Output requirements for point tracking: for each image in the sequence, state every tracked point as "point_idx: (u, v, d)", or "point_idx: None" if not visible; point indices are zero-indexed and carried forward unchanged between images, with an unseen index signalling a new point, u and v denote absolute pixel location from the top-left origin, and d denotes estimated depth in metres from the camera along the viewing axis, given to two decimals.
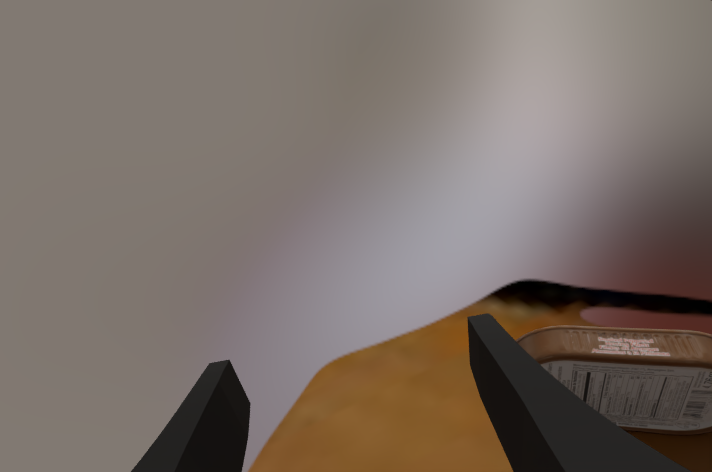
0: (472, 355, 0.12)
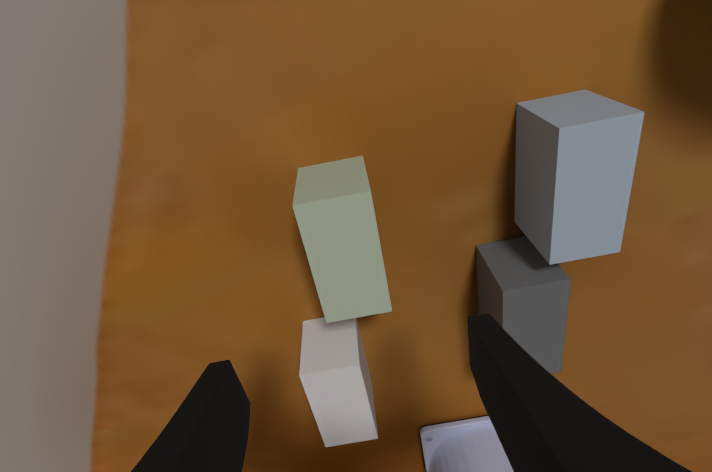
0: (472, 355, 0.12)
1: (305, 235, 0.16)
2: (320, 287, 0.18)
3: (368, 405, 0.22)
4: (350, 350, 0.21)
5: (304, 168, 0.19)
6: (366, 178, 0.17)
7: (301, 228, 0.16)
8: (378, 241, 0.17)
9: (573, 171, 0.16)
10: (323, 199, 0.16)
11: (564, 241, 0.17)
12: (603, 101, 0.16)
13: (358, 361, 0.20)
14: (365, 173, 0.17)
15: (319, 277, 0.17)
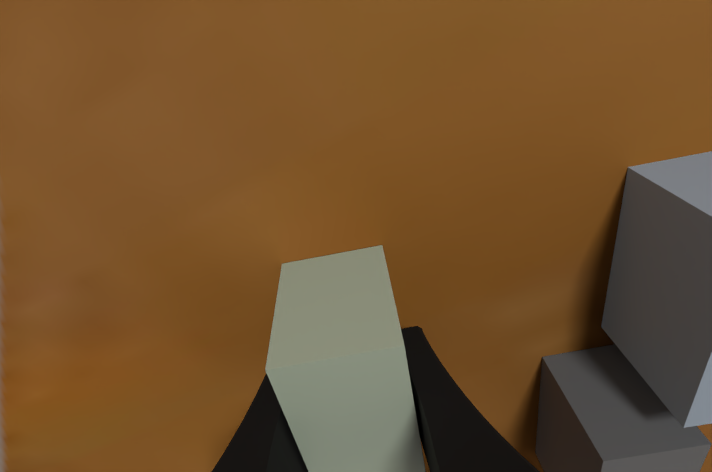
0: None
1: (289, 408, 0.10)
2: None
3: None
4: None
5: (291, 267, 0.12)
6: (393, 307, 0.10)
7: (282, 400, 0.09)
8: (413, 412, 0.10)
9: None
10: (320, 358, 0.09)
11: None
12: None
13: None
14: (390, 293, 0.10)
15: (313, 460, 0.11)
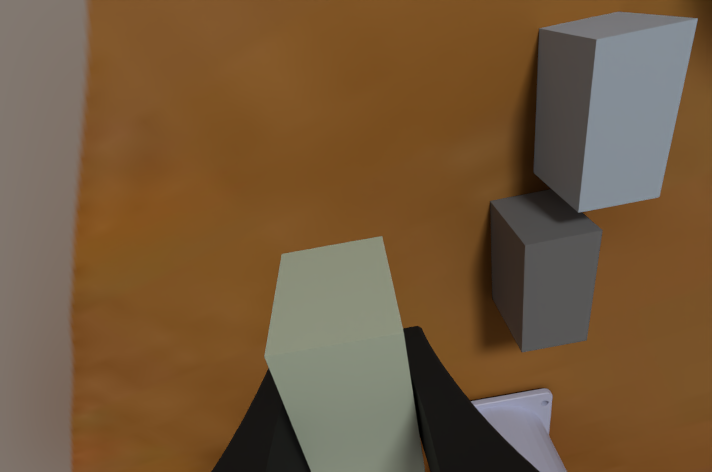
0: None
1: (288, 396, 0.10)
2: (314, 461, 0.11)
3: None
4: None
5: (291, 257, 0.12)
6: (393, 296, 0.10)
7: (281, 387, 0.09)
8: (412, 401, 0.10)
9: (611, 95, 0.13)
10: (320, 345, 0.09)
11: (596, 183, 0.15)
12: (644, 16, 0.14)
13: None
14: (390, 282, 0.10)
15: (311, 450, 0.11)
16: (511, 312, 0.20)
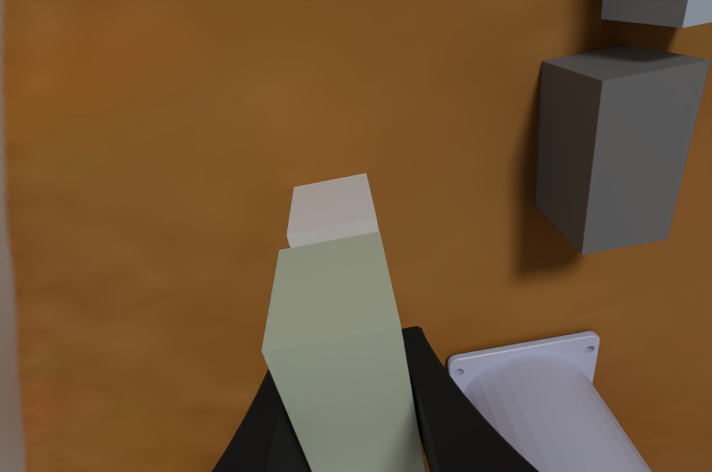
0: None
1: (286, 390, 0.10)
2: (312, 456, 0.11)
3: None
4: (361, 206, 0.14)
5: (288, 253, 0.12)
6: (390, 290, 0.10)
7: (278, 382, 0.09)
8: (410, 395, 0.10)
9: None
10: (317, 339, 0.09)
11: None
12: None
13: (374, 215, 0.14)
14: (387, 276, 0.10)
15: (310, 445, 0.11)
16: (567, 205, 0.15)
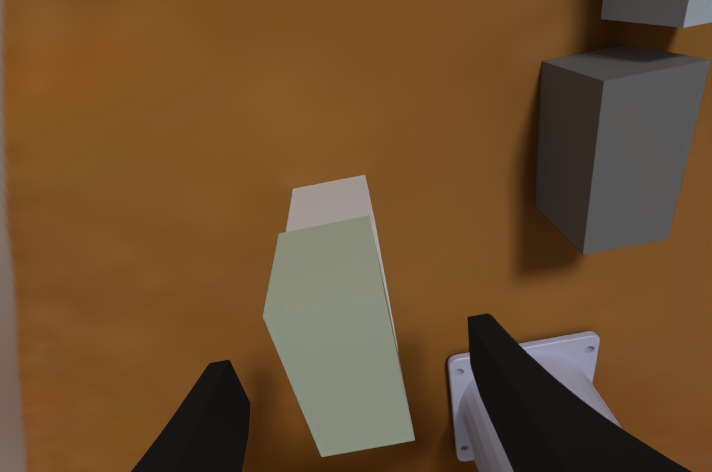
0: (472, 355, 0.12)
1: (285, 353, 0.11)
2: (311, 416, 0.12)
3: (386, 294, 0.15)
4: (360, 209, 0.14)
5: (287, 236, 0.13)
6: (376, 263, 0.11)
7: (278, 345, 0.11)
8: (396, 358, 0.11)
9: None
10: (311, 304, 0.10)
11: None
12: None
13: (372, 218, 0.14)
14: (374, 253, 0.11)
15: (308, 405, 0.12)
16: (568, 205, 0.15)
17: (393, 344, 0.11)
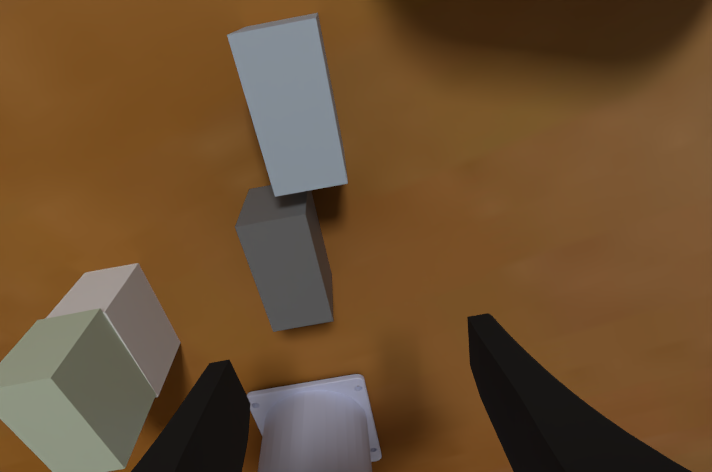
0: (472, 355, 0.12)
1: (1, 413, 0.16)
2: (38, 453, 0.18)
3: None
4: (106, 299, 0.20)
5: (40, 323, 0.19)
6: (66, 353, 0.17)
7: None
8: (80, 416, 0.17)
9: (261, 86, 0.15)
10: (5, 385, 0.16)
11: (281, 169, 0.16)
12: (308, 16, 0.15)
13: (107, 308, 0.19)
14: (73, 343, 0.17)
15: (33, 445, 0.17)
16: None
17: (73, 407, 0.16)
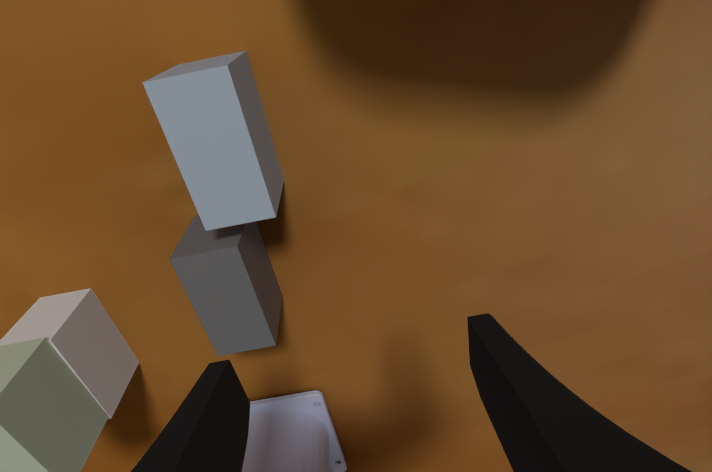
0: (472, 355, 0.12)
1: None
2: None
3: None
4: (54, 326, 0.21)
5: None
6: (5, 385, 0.17)
7: None
8: (19, 445, 0.17)
9: (181, 129, 0.15)
10: None
11: (209, 205, 0.17)
12: (228, 58, 0.16)
13: (53, 336, 0.20)
14: (13, 375, 0.18)
15: None
16: None
17: (12, 438, 0.17)
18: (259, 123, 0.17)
